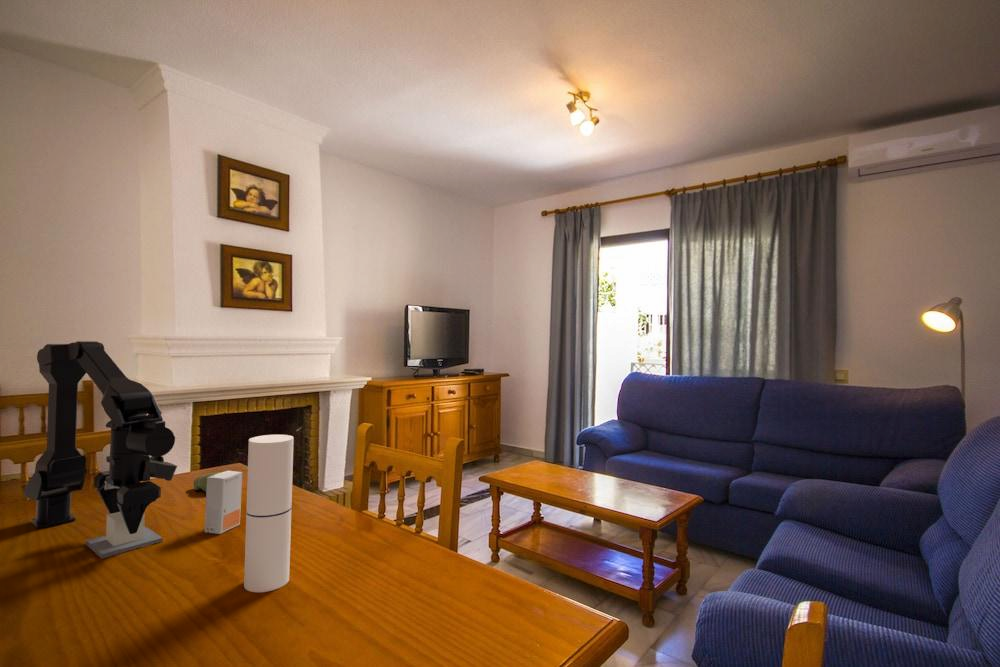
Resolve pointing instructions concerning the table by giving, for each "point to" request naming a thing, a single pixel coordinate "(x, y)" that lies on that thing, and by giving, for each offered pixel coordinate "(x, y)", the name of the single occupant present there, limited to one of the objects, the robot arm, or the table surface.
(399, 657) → the table surface
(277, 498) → the cylindrical container
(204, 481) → the pear
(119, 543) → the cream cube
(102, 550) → the mat
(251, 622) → the table surface
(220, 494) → the skincare box
